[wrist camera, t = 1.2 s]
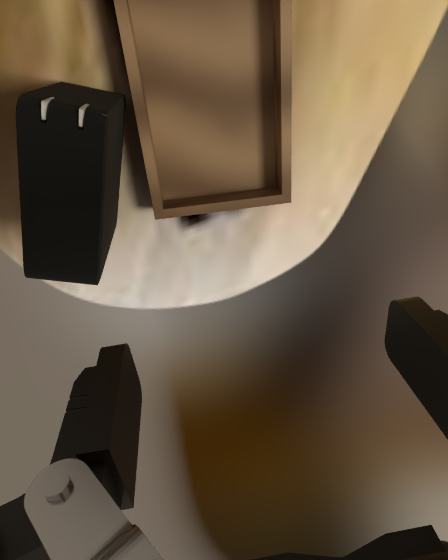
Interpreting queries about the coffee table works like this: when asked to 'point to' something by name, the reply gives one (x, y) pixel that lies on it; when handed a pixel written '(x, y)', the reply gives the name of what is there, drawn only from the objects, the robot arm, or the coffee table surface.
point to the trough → (211, 100)
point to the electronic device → (68, 179)
